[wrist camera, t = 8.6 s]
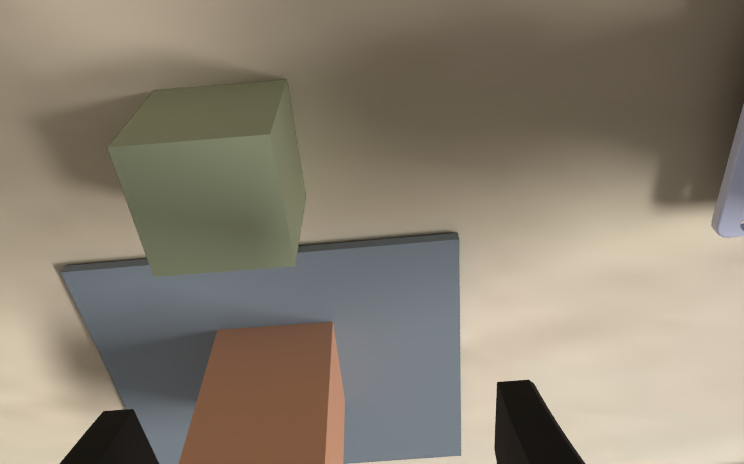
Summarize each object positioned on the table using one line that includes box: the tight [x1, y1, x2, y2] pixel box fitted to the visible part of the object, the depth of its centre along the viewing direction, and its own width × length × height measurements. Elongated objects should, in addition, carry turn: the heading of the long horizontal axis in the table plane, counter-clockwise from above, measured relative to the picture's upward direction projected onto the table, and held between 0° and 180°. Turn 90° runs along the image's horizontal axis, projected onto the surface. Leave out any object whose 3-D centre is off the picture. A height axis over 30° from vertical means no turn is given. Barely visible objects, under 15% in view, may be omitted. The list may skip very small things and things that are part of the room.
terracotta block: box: [179, 322, 345, 464], centre depth 21 cm, size 4×4×6 cm
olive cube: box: [107, 79, 306, 277], centre depth 17 cm, size 4×4×4 cm
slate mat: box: [60, 233, 461, 464], centre depth 24 cm, size 14×12×1 cm
